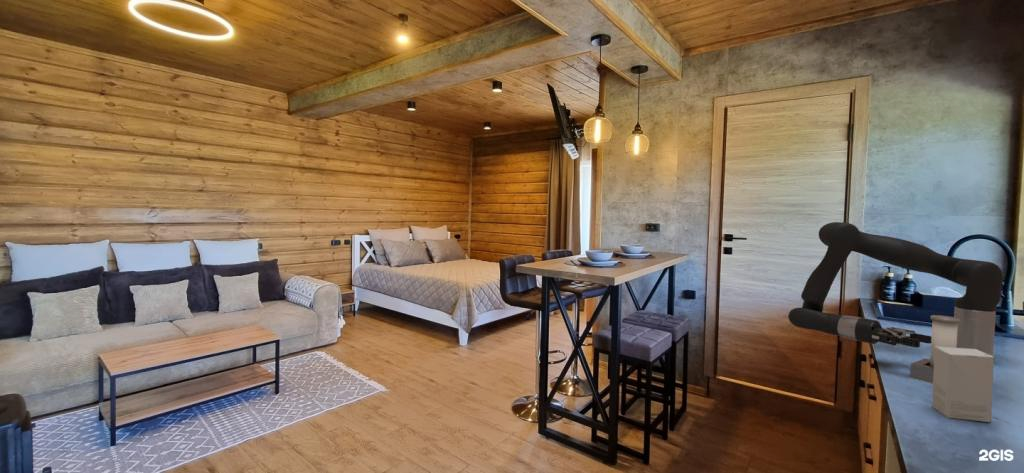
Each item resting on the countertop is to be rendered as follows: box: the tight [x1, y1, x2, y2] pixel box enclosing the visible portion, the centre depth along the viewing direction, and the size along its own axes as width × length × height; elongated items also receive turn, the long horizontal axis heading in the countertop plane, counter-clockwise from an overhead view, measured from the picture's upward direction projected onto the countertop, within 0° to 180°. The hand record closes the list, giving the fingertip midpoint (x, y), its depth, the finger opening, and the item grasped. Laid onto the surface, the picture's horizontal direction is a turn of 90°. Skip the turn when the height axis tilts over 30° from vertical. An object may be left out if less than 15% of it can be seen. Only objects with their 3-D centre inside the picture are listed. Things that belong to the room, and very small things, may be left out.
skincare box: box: [931, 346, 996, 423], centre depth 101 cm, size 8×7×16 cm
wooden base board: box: [908, 357, 934, 385], centre depth 123 cm, size 23×11×5 cm, turn 119°
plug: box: [929, 314, 960, 367], centre depth 120 cm, size 6×6×18 cm
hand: (925, 342), depth 123 cm, fingers open, 8 cm apart
